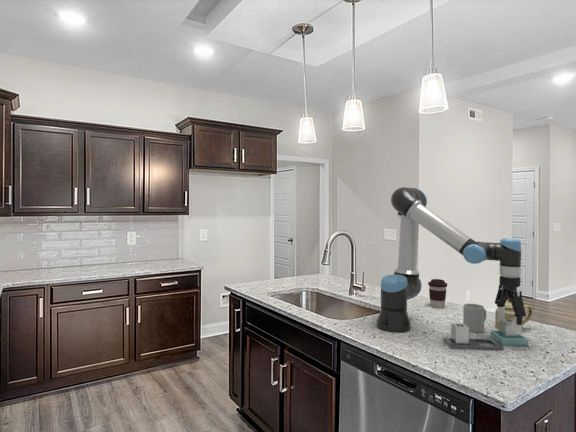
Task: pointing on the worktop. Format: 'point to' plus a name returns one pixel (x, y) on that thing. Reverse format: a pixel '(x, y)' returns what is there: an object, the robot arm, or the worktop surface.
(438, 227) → the robot arm
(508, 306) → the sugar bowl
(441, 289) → the coffee cup
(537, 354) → the worktop surface
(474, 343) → the grey slotted plate
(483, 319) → the mug
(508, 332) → the steel cube with knob
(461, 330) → the light gray block
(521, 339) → the parts tray
